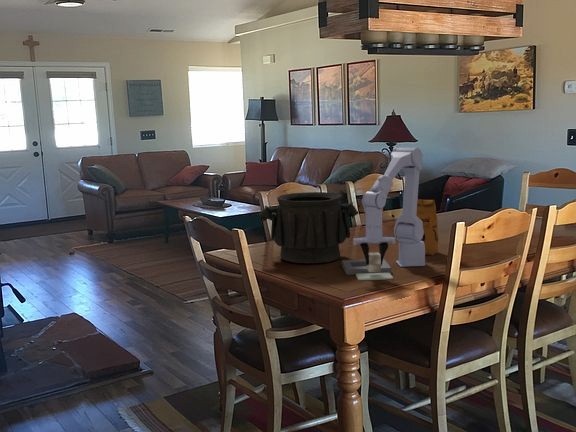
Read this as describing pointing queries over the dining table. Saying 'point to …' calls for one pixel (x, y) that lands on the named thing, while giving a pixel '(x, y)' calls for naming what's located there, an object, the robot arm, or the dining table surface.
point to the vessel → (309, 226)
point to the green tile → (374, 276)
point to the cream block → (374, 262)
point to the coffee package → (428, 225)
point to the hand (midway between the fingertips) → (374, 264)
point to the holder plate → (362, 267)
